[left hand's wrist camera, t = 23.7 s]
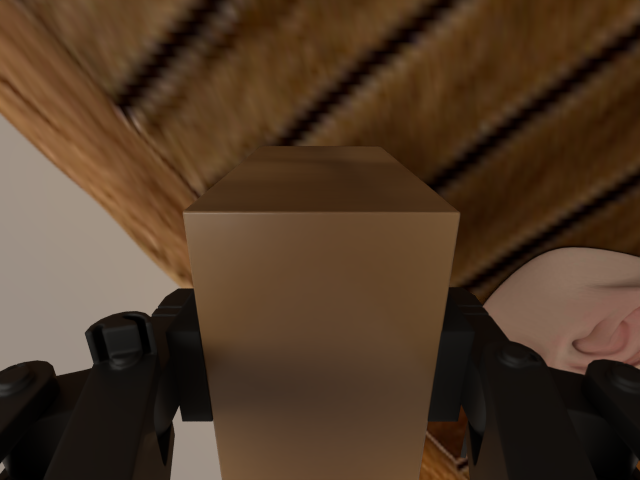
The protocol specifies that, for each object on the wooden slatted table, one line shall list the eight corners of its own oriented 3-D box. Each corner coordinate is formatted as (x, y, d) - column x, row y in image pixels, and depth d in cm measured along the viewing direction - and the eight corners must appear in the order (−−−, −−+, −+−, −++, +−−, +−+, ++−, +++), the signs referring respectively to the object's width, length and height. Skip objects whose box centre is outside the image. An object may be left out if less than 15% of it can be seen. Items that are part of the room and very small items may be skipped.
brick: (269, 304, 19) (223, 494, 10) (260, 146, 16) (181, 211, 7) (370, 304, 19) (416, 495, 10) (380, 146, 16) (462, 212, 7)
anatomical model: (479, 378, 26) (571, 238, 22) (459, 342, 29) (535, 218, 25) (631, 423, 27) (743, 301, 23) (594, 384, 31) (685, 274, 27)
